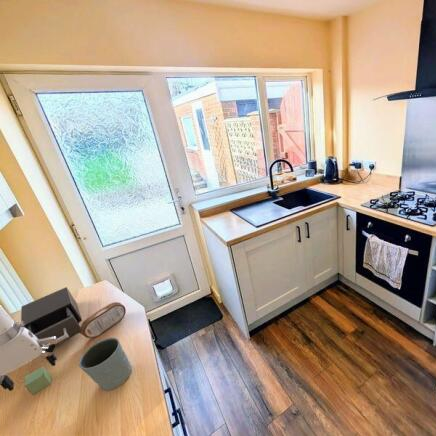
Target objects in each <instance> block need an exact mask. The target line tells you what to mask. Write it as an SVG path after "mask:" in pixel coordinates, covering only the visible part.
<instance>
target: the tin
mask: <svg viewBox="0 0 436 436" xmlns="http://www.w3.org/2000/svg"><path fill="white" fill-rule="evenodd" d="M126 312H127V309H126V307H125V306H124V304H122V302H119V301H118V302H117V301H115V302H111V303H109V304H107V305H106V306H104V307H102V308H101V309H99V310H97V311H96V312H94V313H93V314H91V315H90V316H88V317H86V318H85V319H84V320H83V322H82V323H81V325H80V333H79V334H81V336H84V337H85V338H87V339H93V338H97V337H100V336H101V335H102V334H103V333H105V332H107V331H108V330H109V329H111V328H112V327H113V326H115V325H116V324H117V323H119V322H121V321H122V320H123V318H125V315H126Z"/></svg>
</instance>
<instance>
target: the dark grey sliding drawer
mask: <svg viewBox="0 0 436 436" xmlns="http://www.w3.org/2000/svg"><path fill="white" fill-rule="evenodd" d="M80 327H81V325H80V324H79V322H77V319H76V316H75V313H74V312H73V310H72V309H71V307H70V306H67V307H65V308H63V309H61V310H59V311H57V312H54V313H52V314H50V315H48V316H46V317H44V318H42V319H40V320H38V321H35V322H33V323H31V324H29V325H28V330H29V331H30V332H31V333H33V334H34V335H35V336H36V337H37V338H38V339H44V338H49V337H54V336H56V339H57V340H56V346H58V345H60V344H62V343H64V342H66V341H68V340H70V339H71V338H73V337H75V336H77V335H79V334H81V333H80ZM49 345H50V343H47V344H43V346H42V347H47V348H48V347H49Z"/></svg>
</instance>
